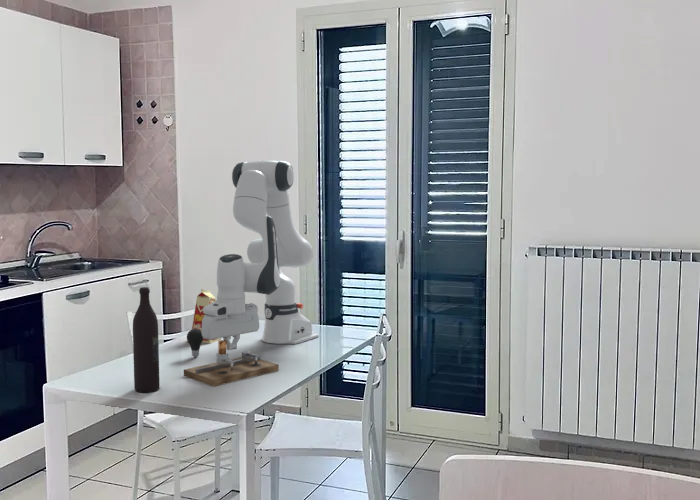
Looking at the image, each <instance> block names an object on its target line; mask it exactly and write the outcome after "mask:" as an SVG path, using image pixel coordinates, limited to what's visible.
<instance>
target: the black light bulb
mask: <svg viewBox="0 0 700 500" xmlns="http://www.w3.org/2000/svg"><path fill="white" fill-rule="evenodd" d="M186 341H187V343H188V344H189V347H190V350H191V356H192V357H193V358H194V359H196V358H198V357H199V356H200V350H201V349H200V348H201V345H202V344H203V343H202V341H203V336H202V332H201V331H200V330H199V329H192V328H191V329H190V330H189V331H188V332H187V334H186Z"/></svg>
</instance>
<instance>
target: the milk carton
mask: <svg viewBox="0 0 700 500" xmlns="http://www.w3.org/2000/svg"><path fill="white" fill-rule="evenodd" d="M216 300H217V297H215V296H214V295H213V294H212V290H206V289H201V292H200V293H198V295H196V301H195V302H196V303H195V308H194V313H193V320H192V326H191V330H192V329H199V330H200V331H201V332H202V319H203V317H204V316H205V315H206V314H204V313H203V308H204V307H206V306H207V305H209V304H211V303H213V302H215V301H216ZM220 340H222V338H218V339H213V340H207V339H204V338H203V341H202V343H201V344H213V343H215V342H218V341H220Z"/></svg>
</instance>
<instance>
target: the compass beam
mask: <svg viewBox="0 0 700 500" xmlns="http://www.w3.org/2000/svg"><path fill="white" fill-rule="evenodd" d="M241 357H242V359H239V360H235V361H234V363H233V366H234V365H239V364H243V363H247V362H252V361H255V364H257V360H260V359H261V356H260V355H258V354H256V353H252V352H250V351H242V352H241ZM230 366H231V364H229V363H226V364H217V365H212V366H207V367H203V368H198V369H196V373H197V374H199V373H203V372H208V371H212V370H216V369H221V368H225V367H230Z"/></svg>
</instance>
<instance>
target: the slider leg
mask: <svg viewBox="0 0 700 500" xmlns="http://www.w3.org/2000/svg"><path fill="white" fill-rule="evenodd" d="M217 342H218V344H217V345H218V346H217V347H218V350H217V351H218V352H217V353H216V362H217V363H219V364H226V363H229V364H231V370H233V363H234V361H232V360H230V359H229V353H227V348H226V340H223V339H220V340H218V341H217Z"/></svg>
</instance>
